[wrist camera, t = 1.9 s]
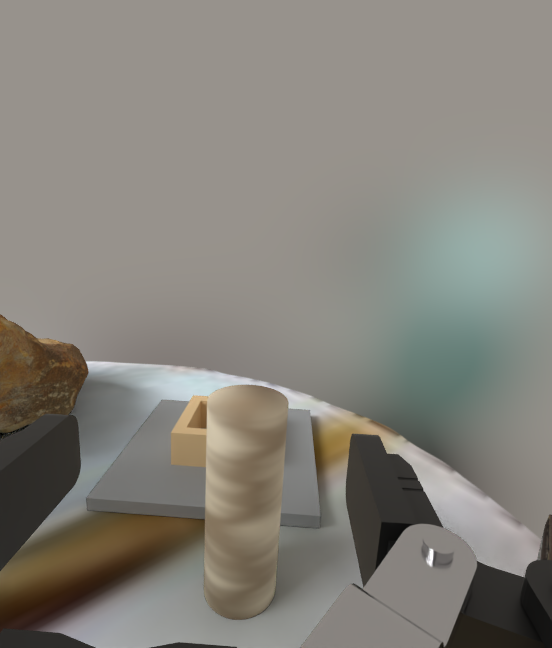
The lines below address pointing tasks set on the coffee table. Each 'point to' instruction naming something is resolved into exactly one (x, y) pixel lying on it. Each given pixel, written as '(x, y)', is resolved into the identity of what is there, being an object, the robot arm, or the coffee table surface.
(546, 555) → the coffee box
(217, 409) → the wooden peg
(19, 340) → the rough brown rock
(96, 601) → the coffee table surface
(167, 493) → the collar board
